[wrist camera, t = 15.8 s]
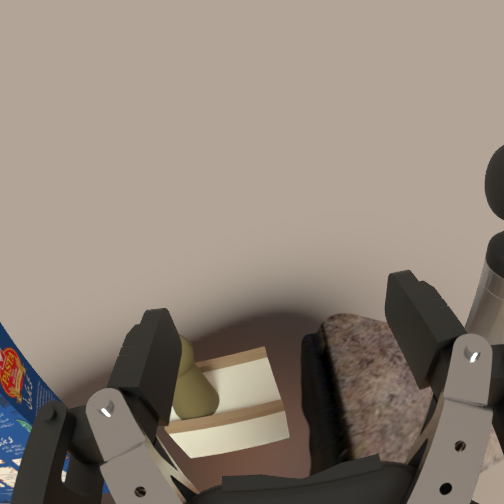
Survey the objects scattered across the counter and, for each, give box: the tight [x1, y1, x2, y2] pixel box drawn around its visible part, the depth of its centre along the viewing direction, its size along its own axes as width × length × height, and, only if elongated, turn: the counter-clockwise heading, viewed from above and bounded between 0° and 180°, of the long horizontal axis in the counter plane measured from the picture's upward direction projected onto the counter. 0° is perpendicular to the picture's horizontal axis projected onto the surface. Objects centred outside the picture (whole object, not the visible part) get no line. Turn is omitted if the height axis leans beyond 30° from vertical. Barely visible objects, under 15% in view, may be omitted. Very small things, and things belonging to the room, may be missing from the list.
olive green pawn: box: [172, 334, 220, 420], centre depth 31 cm, size 6×6×11 cm
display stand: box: [165, 347, 290, 458], centre depth 36 cm, size 14×10×9 cm
